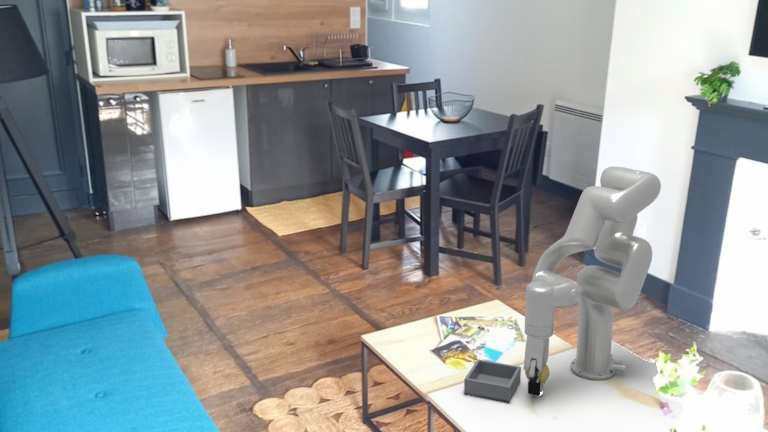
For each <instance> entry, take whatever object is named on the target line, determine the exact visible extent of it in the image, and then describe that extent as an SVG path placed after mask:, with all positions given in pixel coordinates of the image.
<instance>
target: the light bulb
mask: <svg viewBox="0 0 768 432" xmlns="http://www.w3.org/2000/svg"><path fill="white" fill-rule="evenodd" d="M529 369H530V367H529ZM529 369H528V370H526V371H525V370H524V372H525V373H524V374H525V377H526V379H527V380H528V378H529ZM535 370H537V371H538V368H536V369H535ZM535 376H536V377H537V373H535ZM549 377H550V368H549V367H548V365H547V364H546V365H545V367H544V369H543V371H542V372H541V373H540V379H539V381H540V392H542V391H543V392H544V390H545V389H544V386H545V385H544V383H545V384H546V382H547V380H548V379H549ZM530 395H531V396H532V397H534V398H537V397H536V396H537V395H532V394H530Z"/></svg>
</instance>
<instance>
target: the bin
mask: <svg viewBox="0 0 768 432" xmlns="http://www.w3.org/2000/svg"><path fill="white" fill-rule="evenodd" d="M521 371H522V367H521V366H518V365H513V364H507V363H501V362H497V361H490V360H484V359H477V360H476V361H475V362H474V364H473V366H472V367H471V368H470V369H469V372H468V373H467V374H466V375H465V378H464V381H463V383H464V386H463V389H464V391H463V395H464V394H465V395H464V396H468V395H469V397H475V398H478V397H479V398H478V399H483V398H484V400H489V401H495V402H499V403H505V404H510V403H511V401H512V400H513V398H514V395H515V394H516V391H517V389H518V387H519V386H520V384H521V376H522V372H521Z"/></svg>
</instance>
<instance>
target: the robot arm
mask: <svg viewBox="0 0 768 432" xmlns="http://www.w3.org/2000/svg"><path fill="white" fill-rule="evenodd" d="M599 180H600V181H599V183H600V184H599V186H598V185H591V186H588V187H586V188H585V189H584V190H582V193H581V195H580V197H579V199H578V201H577V205H576V206H575V209H574V212H573V214H572V217H571V219H570V222H569V224H568V227H567V228H566V230H565V231H566V232H565V233H564V235H563V236H562V237H561V238H560V239H558V240H557V241H555V242H553V244H551V245H550V246H549V247H548V248H547V249H546V250H545V251H543V253H542V254H541V256H540V258H539V260H538V261H537V264H536V266H535V268H534V272H533V275H532V278H531V281H530V282H529V283H528V285H526V288H525V309H524V311H525V312H524V334H525V335H526V340H525V341H526V342H525V350H524V363H523V369H524V372H525V371H526V370H528V369H529V367H530V369H529V378H528V379H527V394H529V395H531V394H532V395H537V396H539V395H540V381H539V379H540V373H541V372H542V371H543V369H544V367H545V365H547V362H548V359H549V354H550V338H551V337H552V336H554V328H555V327H554V323H555V321H554V320H555V310H557V309H568V308H572V307H574V306H576V305H577V304H578V319H577V322H578V323H577V336H576V337H577V340H576V354H575V355H576V356H575V357H576V358H575V359H573V360H571V361H570V365H569V367H570V371H571V372H572V373H573V374H575V375H576V376H578V377H580V378H583V379H588V380H595V381H599V380H600V381H601V380H607V379H610V378H612V377H613V376H615V374H616V371H620V372H623V373H625V372H626V371H627V365H626V364H624V363H623V360H615V359H614V358H613V354H612V340H613V339H612V338H613V326H614V313H613V312H614V311H613V308H614V309H617V310H620V311H628V310H630V309H631V308H632V307H634V305H636V303H637V301H638V299H639V297H640V294H641V292H642V289H643V286H644V283H645V280H646V278H647V275H648V273H649V270H650V268H651V263H652V260H653V249H652V248H653V247H652V246H651V243H649V241H648V240H647V239H644V238H642V237H639V236H635V235H634V232H635V229H636V225H637V222H638V215H639V213H641V212H642V211H643V210H645V209H646V208H648V207H649V206H650V205H651V204H653V203H654V202H655V200H656V199H657V198H658V197H659V194H660V192H661V190H662V189H661V188H662V184H661V180H660V179H659V177H658V176H657V175H656V174H655V173H652V172H649V171H644V170H640V169H639V170H638V169H633V168H629V167H628V168H627V167H625V166H624V167H623V166H622V167H621V166H608V167H606V168H604V169H603V170H602V172H601V175H600V179H599ZM593 249H594V251H593V252H594V253H593V254H594V256H595V258H596V259H597V260H598V261H600V262H602V263H604V264H607V265H609V266H613V267H617V268H619V269H621V272H618V271H615V270H612V269H610V268H606V267H603V266H599V265H587V266H584V267H583V268H581V270H579V272H578V275H577V277H576V280H574V279H571V278H568V277H565V276H563V275H560V274H557V273H555V271H556V269H557V267H558V265H559V264H560V263H561V261H562V260H564V259H565V258H566V257H568V256H571V255H573V254H577V253H579V252H586V251H590V250H593ZM536 368H538V371H537V370H535V369H536ZM535 373H537V377H536V376H535ZM544 384H546V382H545V383H544ZM544 384H543V385H544ZM532 395H531V396H532Z"/></svg>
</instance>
